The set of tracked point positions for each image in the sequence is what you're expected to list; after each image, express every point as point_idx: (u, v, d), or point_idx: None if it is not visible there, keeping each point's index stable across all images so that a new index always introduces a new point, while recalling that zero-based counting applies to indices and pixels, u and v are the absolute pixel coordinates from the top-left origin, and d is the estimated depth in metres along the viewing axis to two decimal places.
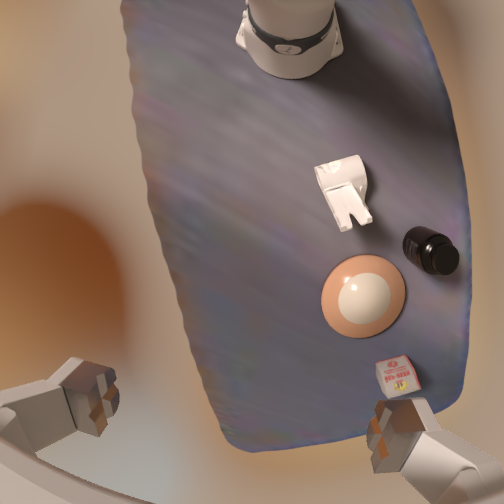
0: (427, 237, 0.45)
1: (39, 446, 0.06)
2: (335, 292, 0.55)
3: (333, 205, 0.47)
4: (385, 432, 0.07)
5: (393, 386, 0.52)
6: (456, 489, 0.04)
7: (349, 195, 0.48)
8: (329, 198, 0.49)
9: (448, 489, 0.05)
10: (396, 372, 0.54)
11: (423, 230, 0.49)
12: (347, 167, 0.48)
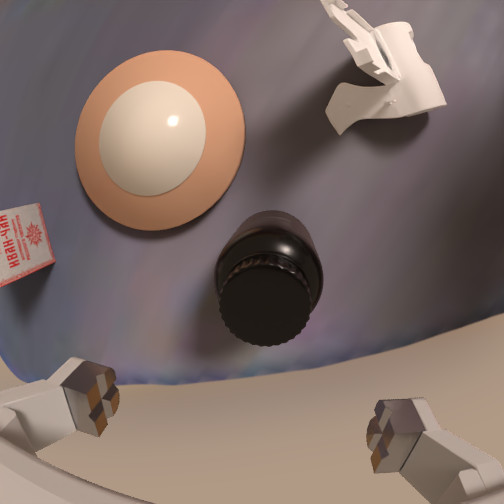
0: (313, 248, 0.19)
1: (39, 446, 0.06)
2: (163, 73, 0.23)
3: (357, 25, 0.17)
4: (385, 432, 0.07)
5: None
6: (456, 489, 0.04)
7: (380, 64, 0.18)
8: (364, 30, 0.18)
9: (448, 489, 0.05)
10: (14, 240, 0.24)
11: None
12: (427, 74, 0.19)
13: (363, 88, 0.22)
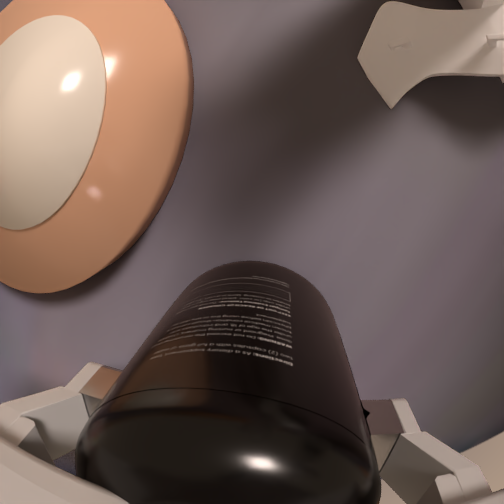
0: (363, 439, 0.05)
1: (57, 454, 0.06)
2: (52, 4, 0.09)
3: None
4: None
5: None
6: (432, 495, 0.04)
7: None
8: None
9: (425, 494, 0.05)
10: None
11: (351, 372, 0.08)
12: None
13: (435, 12, 0.08)
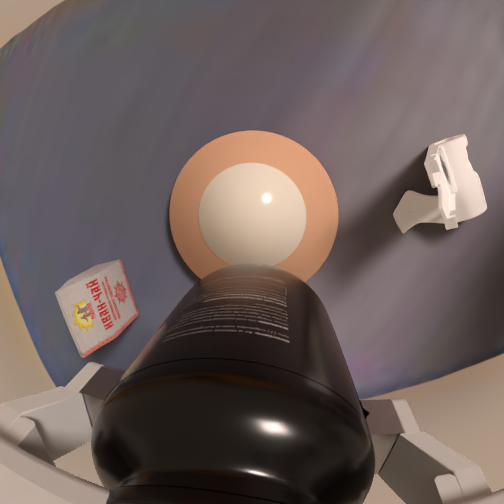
0: (354, 407, 0.06)
1: (57, 454, 0.06)
2: (265, 155, 0.28)
3: None
4: None
5: (80, 299, 0.27)
6: (432, 495, 0.04)
7: (446, 189, 0.23)
8: None
9: (424, 494, 0.05)
10: (106, 302, 0.29)
11: (344, 359, 0.09)
12: (476, 186, 0.24)
13: (425, 197, 0.27)
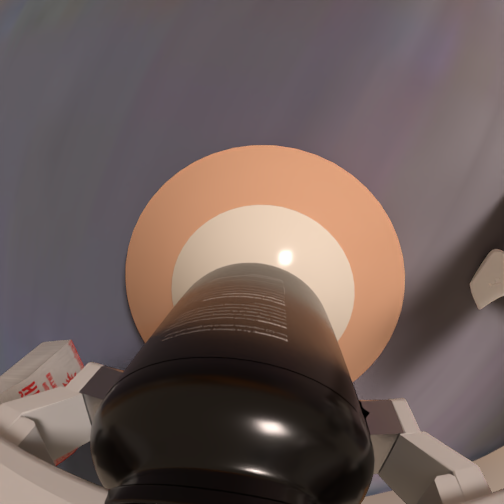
0: (353, 406, 0.06)
1: (56, 454, 0.06)
2: (286, 191, 0.16)
3: None
4: None
5: None
6: (432, 495, 0.04)
7: None
8: None
9: (424, 494, 0.05)
10: None
11: (343, 358, 0.09)
12: None
13: None
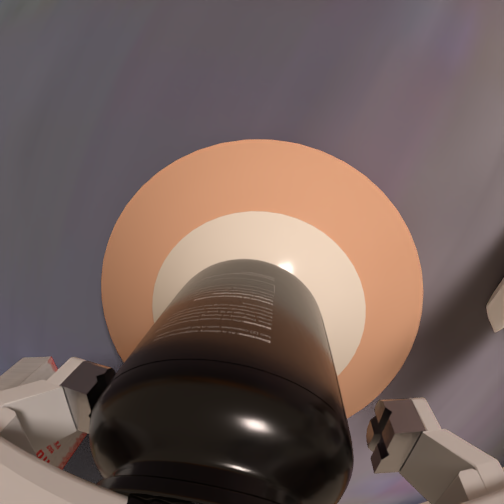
0: (332, 406, 0.06)
1: (39, 446, 0.06)
2: (286, 195, 0.13)
3: None
4: (385, 432, 0.07)
5: None
6: (456, 489, 0.04)
7: None
8: None
9: (448, 489, 0.05)
10: None
11: (331, 355, 0.10)
12: None
13: None
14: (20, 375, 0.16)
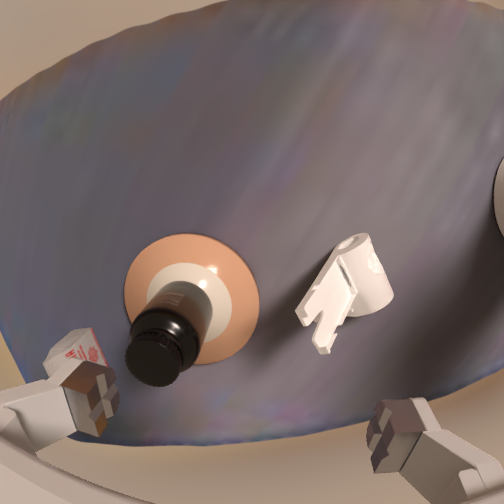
0: (190, 321, 0.27)
1: (39, 446, 0.06)
2: (196, 256, 0.34)
3: (324, 279, 0.29)
4: (385, 433, 0.07)
5: None
6: (456, 489, 0.04)
7: (341, 298, 0.31)
8: (330, 268, 0.31)
9: (448, 489, 0.05)
10: None
11: (204, 314, 0.31)
12: (378, 284, 0.31)
13: None
14: (75, 336, 0.36)
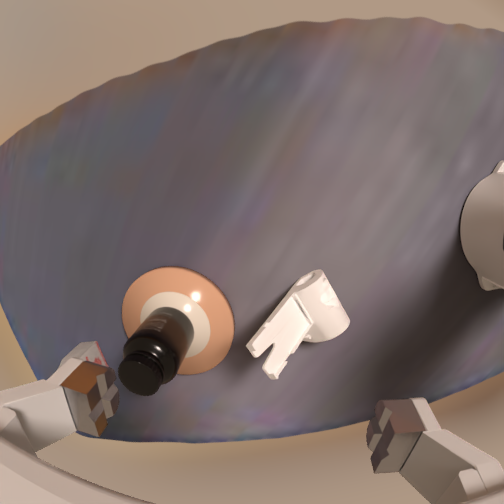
0: (169, 344, 0.33)
1: (39, 446, 0.06)
2: (179, 287, 0.40)
3: (278, 315, 0.35)
4: (385, 432, 0.07)
5: None
6: (456, 489, 0.04)
7: (296, 329, 0.36)
8: (285, 304, 0.36)
9: (448, 489, 0.05)
10: None
11: (183, 337, 0.37)
12: (331, 316, 0.37)
13: None
14: (83, 349, 0.43)
